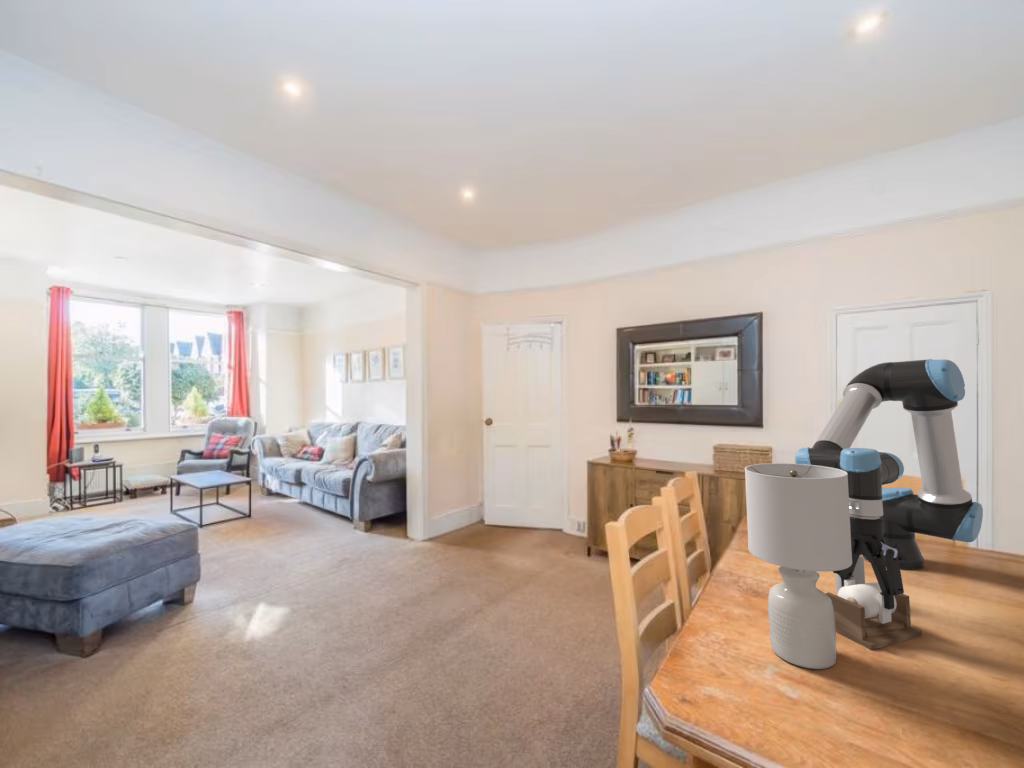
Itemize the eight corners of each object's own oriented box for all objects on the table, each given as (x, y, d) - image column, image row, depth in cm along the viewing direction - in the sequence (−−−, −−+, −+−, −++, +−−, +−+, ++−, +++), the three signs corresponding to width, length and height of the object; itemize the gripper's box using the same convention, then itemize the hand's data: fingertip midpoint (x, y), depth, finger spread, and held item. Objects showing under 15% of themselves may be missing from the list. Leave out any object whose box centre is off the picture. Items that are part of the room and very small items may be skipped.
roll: (864, 606, 110) (864, 577, 110) (896, 620, 103) (896, 589, 103) (837, 611, 107) (837, 581, 107) (868, 625, 100) (868, 593, 101)
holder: (866, 611, 113) (864, 579, 114) (921, 635, 102) (919, 599, 102) (818, 623, 109) (816, 589, 109) (871, 649, 97) (869, 612, 97)
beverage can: (871, 603, 117) (869, 557, 118) (843, 602, 119) (841, 556, 119) (857, 592, 124) (855, 548, 124) (831, 591, 125) (829, 547, 125)
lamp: (737, 631, 106) (729, 464, 107) (818, 630, 106) (810, 462, 106) (782, 683, 87) (773, 479, 88) (882, 681, 87) (871, 476, 88)
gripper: (811, 507, 114) (815, 598, 114) (898, 528, 95) (904, 638, 95) (833, 504, 116) (837, 593, 116) (923, 524, 97) (928, 632, 97)
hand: (867, 613), depth 105 cm, fingers closed on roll, 7 cm apart
